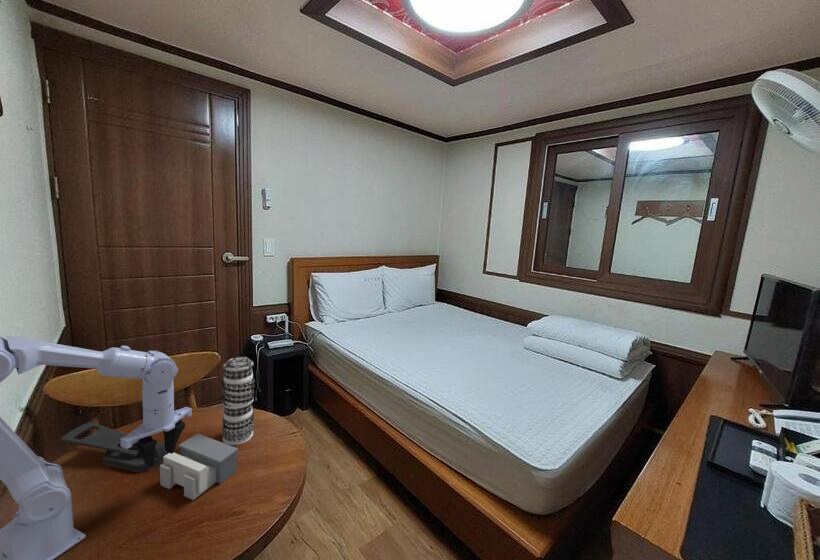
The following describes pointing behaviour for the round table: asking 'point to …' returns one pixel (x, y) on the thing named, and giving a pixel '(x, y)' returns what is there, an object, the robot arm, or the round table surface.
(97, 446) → the zipper pull
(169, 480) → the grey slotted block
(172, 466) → the door panel
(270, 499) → the round table surface
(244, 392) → the decorative candle
